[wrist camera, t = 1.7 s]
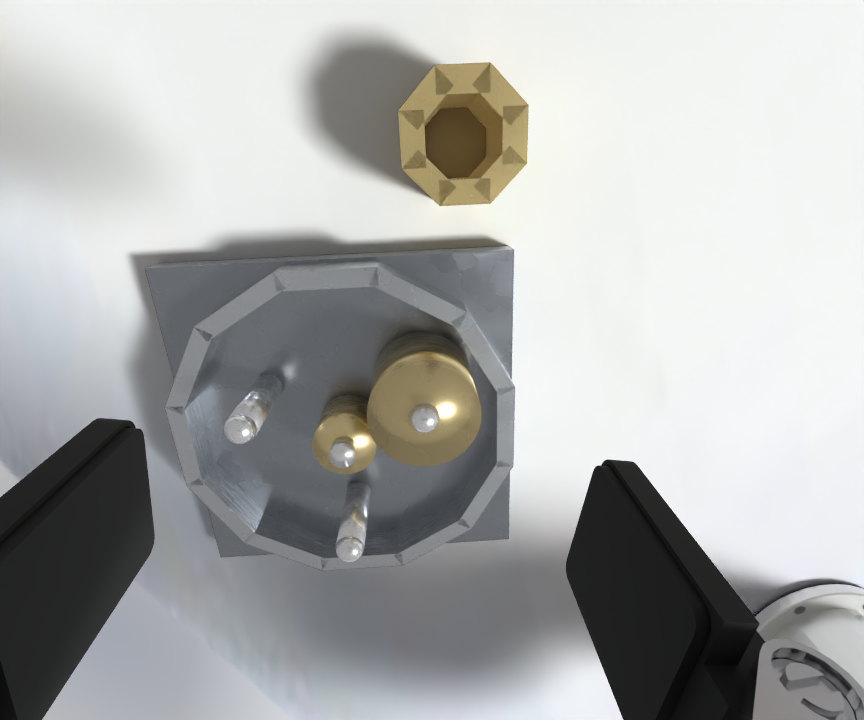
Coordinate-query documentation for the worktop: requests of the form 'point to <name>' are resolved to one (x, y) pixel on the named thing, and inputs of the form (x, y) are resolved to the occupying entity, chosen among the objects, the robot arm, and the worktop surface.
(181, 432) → the carrier
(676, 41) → the worktop surface
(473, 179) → the gear
